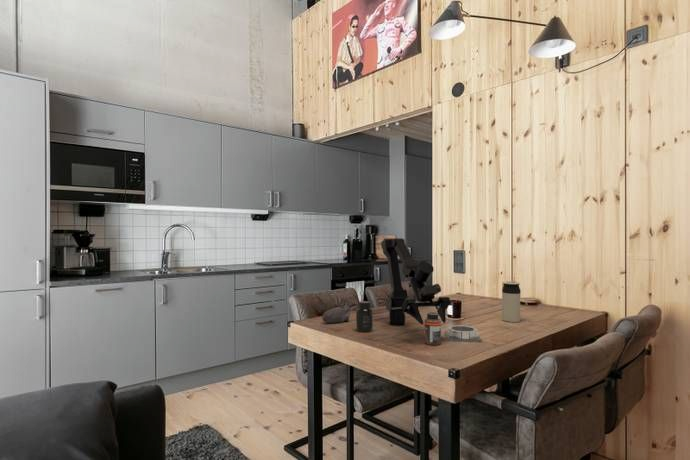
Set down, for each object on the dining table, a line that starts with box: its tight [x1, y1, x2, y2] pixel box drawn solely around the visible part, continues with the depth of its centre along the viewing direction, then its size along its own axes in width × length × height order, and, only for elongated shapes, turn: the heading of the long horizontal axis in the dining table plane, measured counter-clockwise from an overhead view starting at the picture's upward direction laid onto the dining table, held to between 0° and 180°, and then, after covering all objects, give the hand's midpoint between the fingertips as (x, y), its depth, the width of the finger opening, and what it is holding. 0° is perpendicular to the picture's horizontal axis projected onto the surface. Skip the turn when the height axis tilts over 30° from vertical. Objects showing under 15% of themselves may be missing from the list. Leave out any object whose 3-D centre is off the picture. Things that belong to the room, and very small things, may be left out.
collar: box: [444, 324, 483, 343], centre depth 162 cm, size 12×12×3 cm
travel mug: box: [501, 280, 521, 323], centre depth 193 cm, size 8×8×18 cm
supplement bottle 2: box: [424, 311, 442, 346], centre depth 153 cm, size 6×6×11 cm
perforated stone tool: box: [321, 305, 351, 324], centre depth 187 cm, size 15×5×7 cm, turn 120°
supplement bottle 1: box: [355, 300, 374, 333], centre depth 173 cm, size 7×7×12 cm
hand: (433, 323), depth 153 cm, fingers open, 9 cm apart
